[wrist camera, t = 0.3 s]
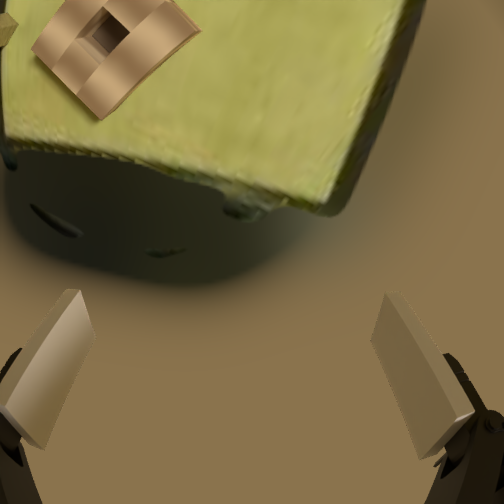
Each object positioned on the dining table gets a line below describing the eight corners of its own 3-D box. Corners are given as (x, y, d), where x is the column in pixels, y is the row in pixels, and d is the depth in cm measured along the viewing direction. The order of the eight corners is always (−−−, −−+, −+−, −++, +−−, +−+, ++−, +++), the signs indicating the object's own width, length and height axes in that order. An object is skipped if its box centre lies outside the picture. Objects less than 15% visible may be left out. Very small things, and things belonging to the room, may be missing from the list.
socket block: (125, -42, 17) (110, -47, 14) (202, 30, 25) (194, 31, 22) (49, 43, 23) (30, 49, 20) (115, 109, 31) (101, 120, 28)
